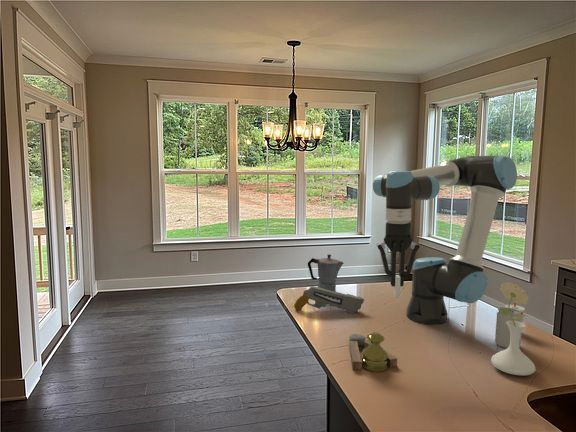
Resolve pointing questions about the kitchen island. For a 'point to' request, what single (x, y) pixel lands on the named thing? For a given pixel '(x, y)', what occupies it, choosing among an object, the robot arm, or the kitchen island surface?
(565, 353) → the kitchen island surface
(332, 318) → the kitchen island surface
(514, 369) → the flower in vase
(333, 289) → the moka pot
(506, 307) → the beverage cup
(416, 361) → the kitchen island surface
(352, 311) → the gun
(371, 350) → the yellow-green tapered rounded piece
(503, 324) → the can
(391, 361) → the long rectangular block
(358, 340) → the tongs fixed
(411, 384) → the kitchen island surface
